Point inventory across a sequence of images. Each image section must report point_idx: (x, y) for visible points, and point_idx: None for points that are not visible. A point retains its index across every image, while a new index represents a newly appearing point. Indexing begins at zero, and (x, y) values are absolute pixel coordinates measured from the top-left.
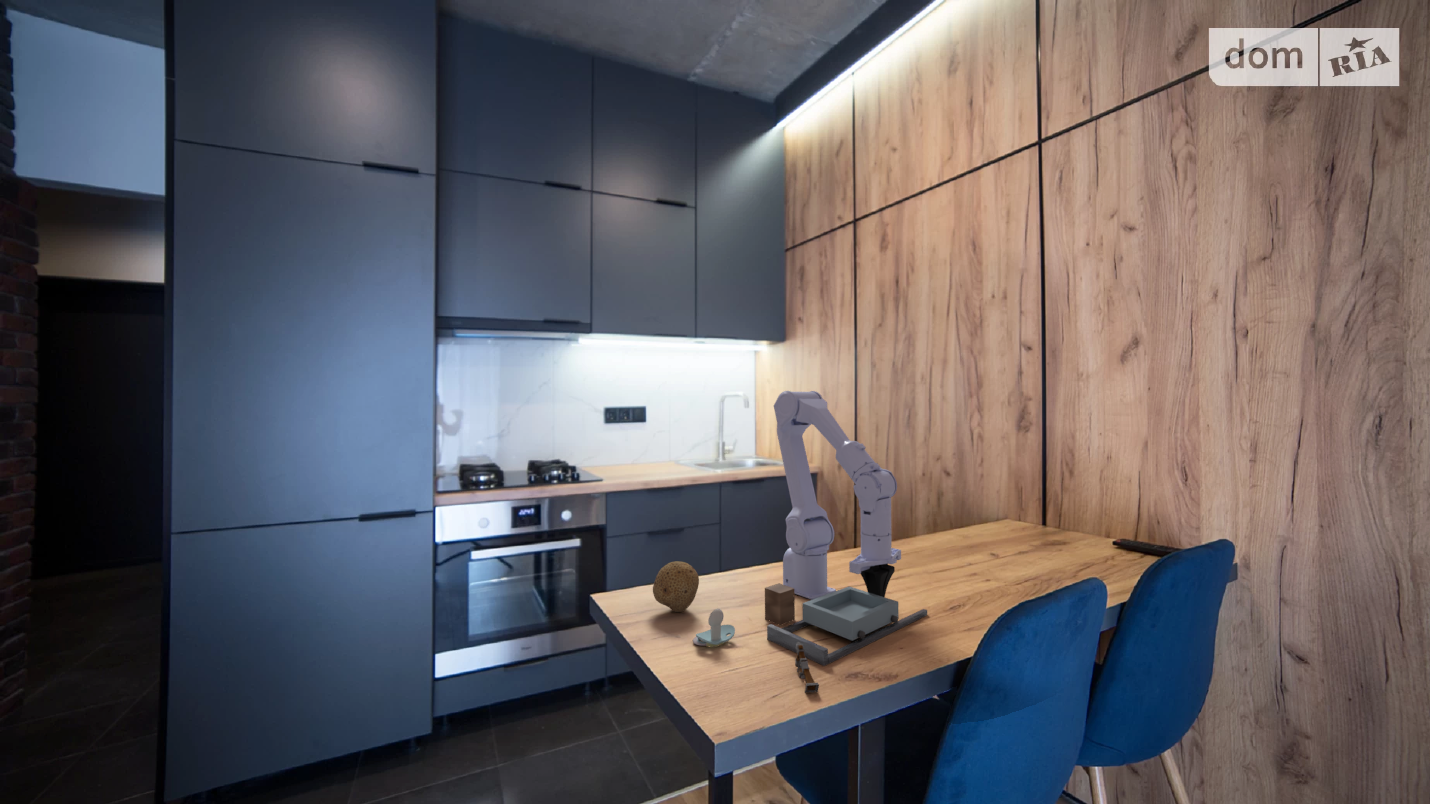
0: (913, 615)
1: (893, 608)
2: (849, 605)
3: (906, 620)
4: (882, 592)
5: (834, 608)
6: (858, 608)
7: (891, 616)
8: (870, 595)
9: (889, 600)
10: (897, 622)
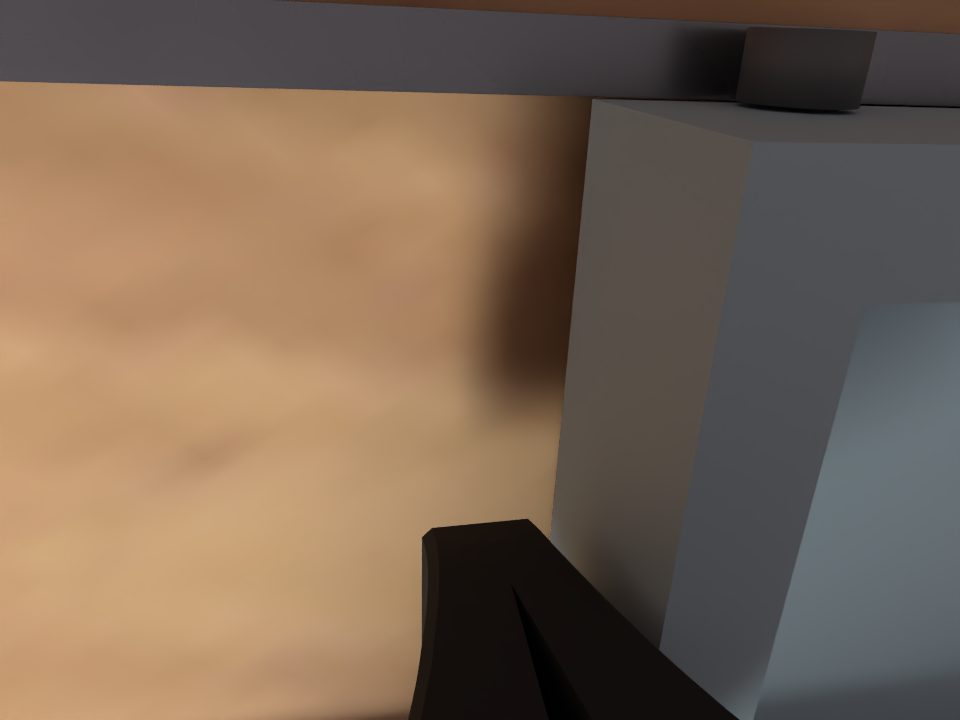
0: (166, 26)
1: (877, 129)
2: (782, 698)
3: (459, 11)
4: (569, 655)
5: (954, 711)
6: (815, 591)
7: (844, 115)
8: (760, 686)
9: (811, 328)
10: (663, 66)
